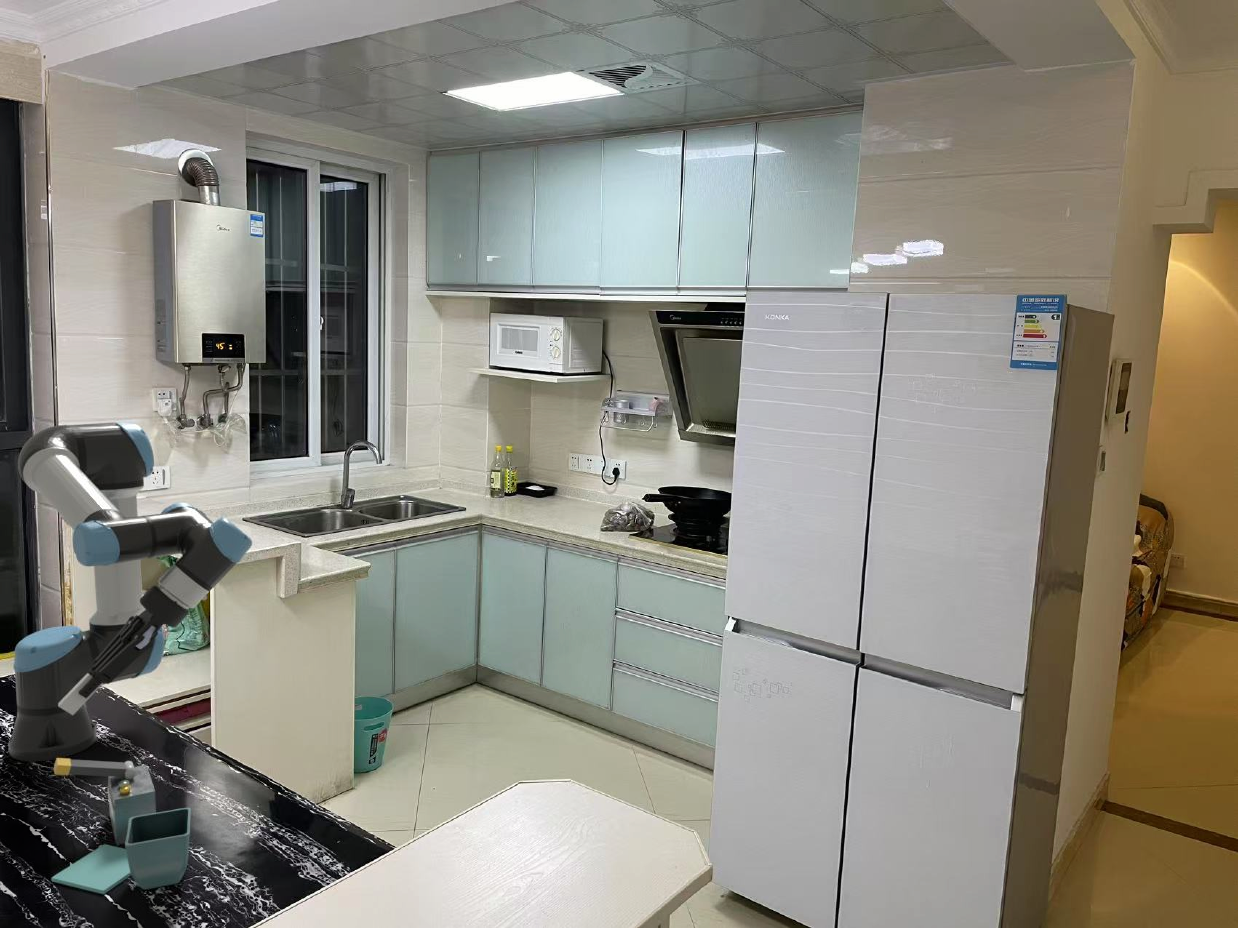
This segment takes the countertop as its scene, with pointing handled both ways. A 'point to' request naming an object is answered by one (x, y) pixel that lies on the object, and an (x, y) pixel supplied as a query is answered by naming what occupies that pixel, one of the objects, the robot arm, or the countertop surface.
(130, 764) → the lever
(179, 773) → the countertop surface
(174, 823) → the flower pot
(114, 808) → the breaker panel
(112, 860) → the pad
